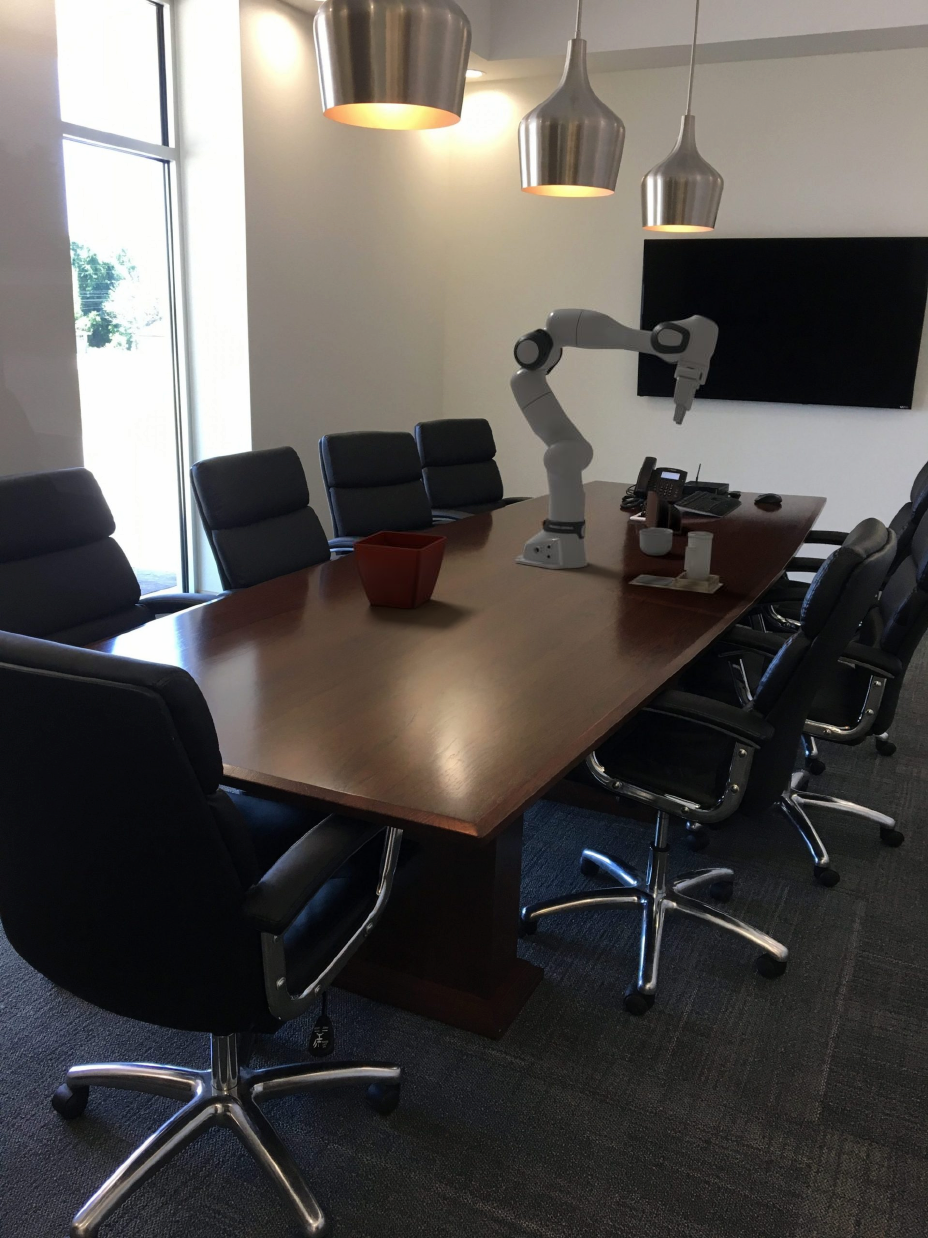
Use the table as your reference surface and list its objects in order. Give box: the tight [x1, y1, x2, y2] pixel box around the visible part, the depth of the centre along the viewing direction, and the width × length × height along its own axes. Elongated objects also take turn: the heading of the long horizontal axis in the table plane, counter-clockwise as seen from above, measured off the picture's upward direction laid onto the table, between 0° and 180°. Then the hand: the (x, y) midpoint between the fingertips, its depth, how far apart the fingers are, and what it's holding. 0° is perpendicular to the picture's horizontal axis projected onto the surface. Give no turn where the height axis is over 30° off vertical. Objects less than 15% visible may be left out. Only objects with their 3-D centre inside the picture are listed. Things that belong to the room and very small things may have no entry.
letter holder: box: [644, 490, 683, 535], centre depth 376 cm, size 10×20×14 cm, turn 0°
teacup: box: [639, 527, 673, 556], centre depth 333 cm, size 14×11×8 cm
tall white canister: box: [683, 531, 714, 582], centre depth 280 cm, size 10×7×15 cm
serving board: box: [628, 571, 723, 594], centre depth 286 cm, size 24×13×4 cm, turn 64°
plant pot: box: [352, 530, 447, 610], centre depth 263 cm, size 19×19×17 cm
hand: (677, 422), depth 287 cm, fingers open, 8 cm apart
